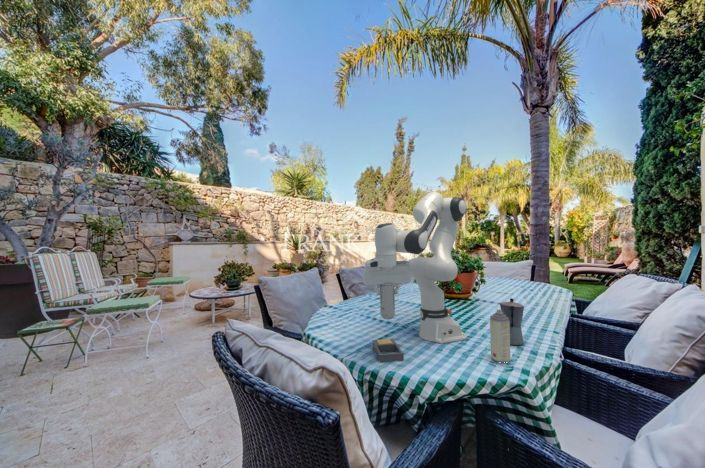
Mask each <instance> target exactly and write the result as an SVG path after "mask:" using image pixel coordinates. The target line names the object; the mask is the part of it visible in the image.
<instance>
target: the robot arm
mask: <svg viewBox="0 0 705 468" xmlns="http://www.w3.org/2000/svg"><path fill="white" fill-rule="evenodd" d="M466 212H467V203H466V200H465V199H464V198H463V197H459V196H454V197H445V198H444V197H443V195H442V194H441V193H439V192H437V191H431V192H429V193H427V194H425V195H424V196H423V197H421V198H420V199H419V201H418V202H416V204H415V205H414V206H413V209H412V216H413V218H414V220H415V222H417V223H418V224H420V225H419V227H418V228H416V229H411V230H400V229H399V228H397V227H396V226H395V224H394V223H392V222H386V223H381V224H379V225H376V227H375V232H374V245H375V255H374V256H375V257H374V258H371V259H368V260H366V261H365V262H364V266H365V267H364V268H363V272H362V284H363V285H365V286H373V288H374V290H375V295H377V296H380V295H381V294H380V293H381V291H380V289H378V287H379V286H380V285H381V284H384V283H392V284H393V285H394V284H395V286H396V287H395V288H394V295H399V289H400V287H401V284H408V283H410V282H411V281H412V278H411V277H413V279H414V281H416V284H417V286H418V289H419V294H420V311H419V313H420V314H419V315H420V327H419V332H418V337H419V338H420V339H422V340H423V341H424V340H425V341H429V342H433V343H434V342H435V343H437V344H442V345H443V344H447V343H452V342H457V341H464V340H467V339H468V338H467V335H466V333H465V332H463V331H462V328H461V325H460V323H459V322H458V321H456V320H455V319H454V318H452V316H450V315H452V314H453V311H452V309H449V308H446V307H445V293H444V291H443V290H442V288H441V287H439V286H438V284H436V281H437V282H451V281H454V280H455V279H456V278H457V276H458V272H459V269H458V265H457V263H456V262H455V261H454V260H453V258H452V250H453V246H454V244H455V241H456V238H457V236H458V230H459V223H458V222H460V221H461V220H462V219H463V217H464V216H465V214H466ZM437 223H438V224H437ZM433 232H434V233H433ZM432 233H433V235H432ZM431 235H432V237H431ZM430 237H431V240H430V241H429V239H430ZM428 242H429V248H430V251H431V252H432V254H433V256H432V257H430V256H429V257H427V256H417V257H414V258H411V259H410V261H407V260H397V258H398V257H397V253H403V254H414V255H420V254H423V252H424V251H425V250H426V249H427V246H428Z"/></svg>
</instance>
